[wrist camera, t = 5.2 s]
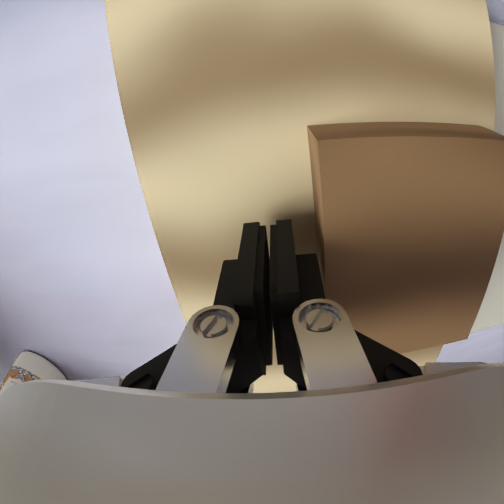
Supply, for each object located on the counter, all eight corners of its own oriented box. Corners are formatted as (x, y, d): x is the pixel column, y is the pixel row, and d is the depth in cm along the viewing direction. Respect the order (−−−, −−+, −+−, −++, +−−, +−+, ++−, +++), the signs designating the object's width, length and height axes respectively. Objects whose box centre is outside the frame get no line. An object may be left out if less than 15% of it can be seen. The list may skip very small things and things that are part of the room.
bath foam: (62, 362, 25) (-4, 529, 8) (76, 395, 29) (27, 537, 12) (13, 340, 25) (-59, 486, 8) (31, 375, 28) (-23, 504, 12)
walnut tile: (306, 125, 9) (317, 140, 7) (479, 125, 9) (517, 142, 7) (318, 324, 14) (324, 364, 12) (448, 305, 13) (467, 338, 11)
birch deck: (143, 4, 10) (103, -12, 7) (436, -9, 8) (480, -23, 5) (223, 350, 22) (216, 397, 18) (413, 332, 20) (429, 375, 17)
